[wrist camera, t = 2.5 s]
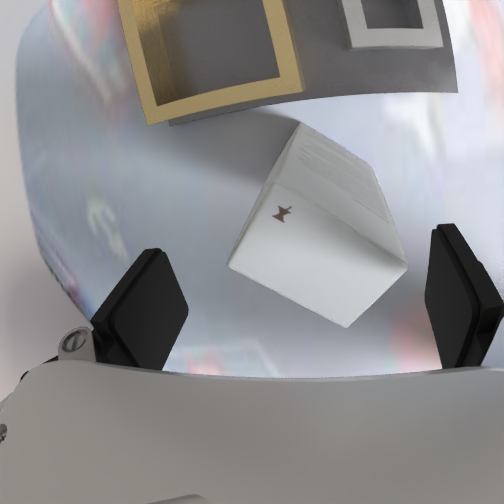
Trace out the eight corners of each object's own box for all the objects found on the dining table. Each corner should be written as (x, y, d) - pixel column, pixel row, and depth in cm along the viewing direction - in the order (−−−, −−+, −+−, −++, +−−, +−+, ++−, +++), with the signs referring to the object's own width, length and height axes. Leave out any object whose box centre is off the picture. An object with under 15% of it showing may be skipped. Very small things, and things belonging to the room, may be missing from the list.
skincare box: (270, 170, 22) (219, 265, 13) (300, 120, 20) (272, 175, 10) (341, 213, 23) (346, 333, 13) (375, 167, 20) (414, 266, 11)
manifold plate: (421, -52, 11) (438, -72, 7) (453, 91, 16) (478, 98, 13) (142, -5, 16) (111, -12, 13) (174, 124, 22) (148, 136, 19)
